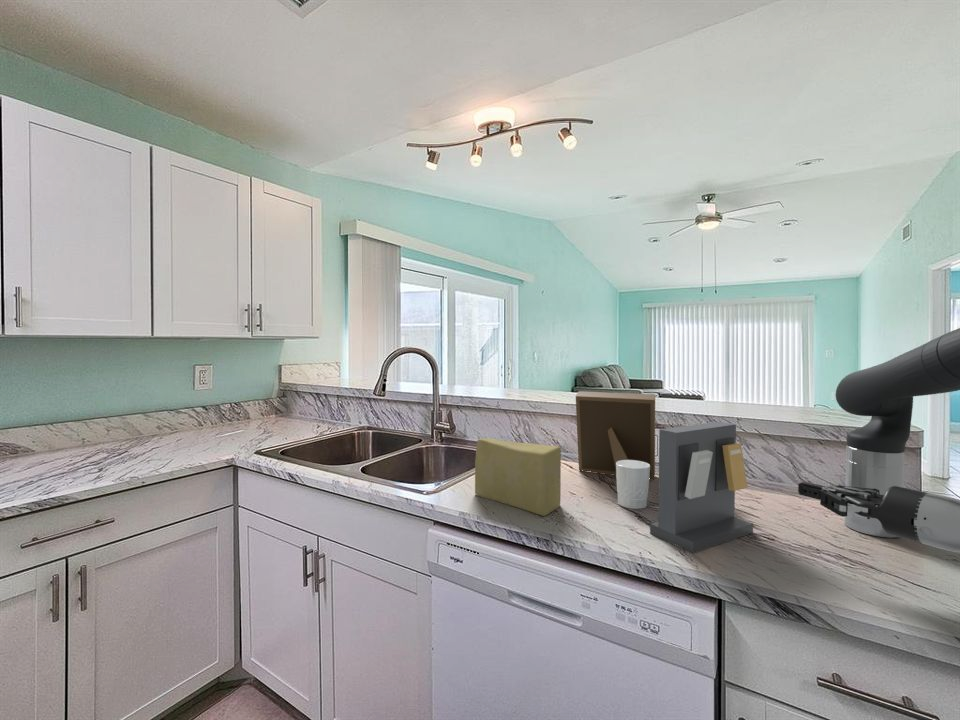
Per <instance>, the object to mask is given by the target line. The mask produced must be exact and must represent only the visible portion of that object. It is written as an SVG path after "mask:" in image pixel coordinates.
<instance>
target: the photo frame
mask: <svg viewBox="0 0 960 720" xmlns="http://www.w3.org/2000/svg"><path fill="white" fill-rule="evenodd" d="M575 407H576V408H575V410H576V411H575V412H576V413H575V415H576V434H577V436H576V437H577V455H578V457H577V459H578V471H579V470H583V471H591V472H597V473H596V474H599V473H605V474H604V475H608V474H614V475H613V476H616V462H617V461H620V460H637V461H642V462H646V463H648V464H649V465H650V474H649V478H650V479H649V480H652V479H654V480H655V477H656V394H653V393H651V394H650V393H629V392H626V393H625V392H608V391H606V392H605V391H603V392H602V391H601V392H600V391H586V390H585V391H583V390H582V391H580V390H578V392H577V393H576V395H575ZM591 472H590V473H591Z"/></svg>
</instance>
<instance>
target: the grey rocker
mask: <svg viewBox="0 0 960 720" xmlns="http://www.w3.org/2000/svg"><path fill="white" fill-rule="evenodd" d="M712 454H713V452H711V451H709V450H704V451H699V452H693V453H692V458H691V464H690V469H689V475H688V480H687V486H686V492H685V497H687V498H689V499H692V498H696V497H700V496H704V495H705V491H706V486H707V481H708V476H709V470H710V465H711V460H712Z"/></svg>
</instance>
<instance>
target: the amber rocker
mask: <svg viewBox="0 0 960 720" xmlns="http://www.w3.org/2000/svg"><path fill="white" fill-rule="evenodd" d="M722 447H723V454H724V461H725V468H726V474H727V481H728V488H729V490H730V491H735V492H736V491H740V490H744V489H747V488H748V482H747V481H748V480H747V475H746V468H745V462H744V456H743V448H742V443H737V442H736V443H734V444H728V445H723V446H722Z"/></svg>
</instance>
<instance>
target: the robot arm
mask: <svg viewBox="0 0 960 720" xmlns="http://www.w3.org/2000/svg"><path fill="white" fill-rule="evenodd" d="M958 391H960V327H958V328H957V329H954V330H952V331H949V332H947V333H945V334H942V335H939V336H938V337H936V338H934V339H931V340H930V341H928V342H926V343H923V344H922V345H920V346H917V347H915V348H913V349H911V350H909V351H905V352H904V353H902V354H900V355H898V356H895V357H894V358H892V359H891V358H890V360H887V361H884V362H883V363H880V364H877V365H874V366H871V367H867V368H864V369H861V370H860V369H859V370H857V371H854V372H851V373H849V374H847V375H845V376H844V377H843V378H842V379H841V380H840V382H838V385H837V387H836V389H835V400H836V403H837V404H838V406H839V407H840V408H841V409H842V410H844V411H845V412H847V413H848V414H851V415H855V416H860V417H871V418H870V420H869V421H868V423H867V424H865V425H863V426H861V427H859V428H857V429H856V428H855V429H854V430H851V431H849V432H848V433H847V435H846V443H845V444H846V448H845V449H846V450H845V484H844V485H842V484H837V485H836V486H833V485H826V486H825V485H821V484H817V483H812V482H807V481H802V482H799V483H798V488H797V489H798V491H797V492H798V494H799V495H800V496H802V497H803V496H804V497H808V498H810V499H815V500H820V504H819V505H821V506H822V507H824V508H826V509H827V510H829V511H831V512H833V513H834V514H836V515H838V516H840V517H842V518H843V517H844V525H845V526H846V527H848V528H849V529H852V530H853V531H856V532H858V533H863V534H866V535H870V536H874V537H881V538H891V539H892V538H901V539H905V540H908V541H912V542H916V543H919V544H923V545H926V546H929V547H934V548H935V549H936V548H937V549H941V550H944V551H948V552H954V553H958V554H960V499H959V498H956V497H951V496H945V495H942V494H941V495H940V494H937V493H931V492H926V491H921V490H915V489H911V488H907V487H905V455H906V454H905V451H906V444H907V442H908V440H909V438H910V435H911V426H912V417H913V416H912V415H913V408H914V407H913V406H914V397H922V396H930V395H931V396H932V395H938V394H939V395H940V394H946V393H952V392H958Z"/></svg>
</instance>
